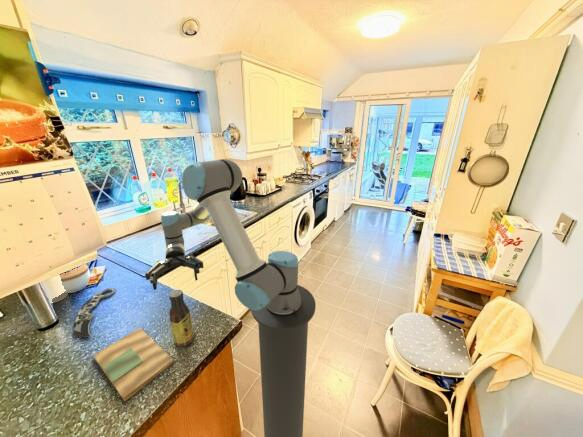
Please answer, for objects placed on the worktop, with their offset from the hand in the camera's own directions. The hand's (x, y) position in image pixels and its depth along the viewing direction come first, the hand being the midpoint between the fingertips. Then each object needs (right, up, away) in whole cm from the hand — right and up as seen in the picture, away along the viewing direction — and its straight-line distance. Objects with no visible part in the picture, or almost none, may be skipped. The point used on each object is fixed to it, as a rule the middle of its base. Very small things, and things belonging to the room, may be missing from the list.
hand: (175, 281), depth 84 cm
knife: (-38, -15, +10) cm, 43 cm away
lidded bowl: (-58, -9, +24) cm, 64 cm away
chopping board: (-9, -23, -9) cm, 26 cm away
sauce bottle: (+4, -20, -2) cm, 21 cm away
